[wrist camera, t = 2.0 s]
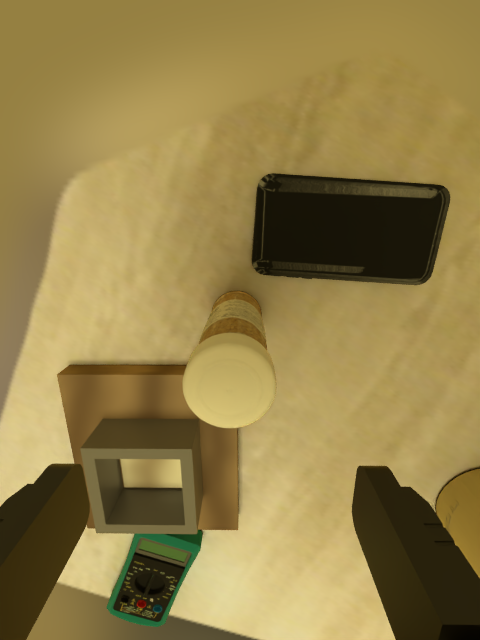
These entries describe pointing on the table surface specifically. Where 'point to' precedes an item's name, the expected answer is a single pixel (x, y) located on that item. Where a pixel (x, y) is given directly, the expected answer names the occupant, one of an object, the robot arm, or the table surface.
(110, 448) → the socket sleeve
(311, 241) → the phone
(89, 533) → the table surface
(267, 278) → the table surface
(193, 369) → the sprinkles bottle
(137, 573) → the digital multimeter
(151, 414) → the socket board
